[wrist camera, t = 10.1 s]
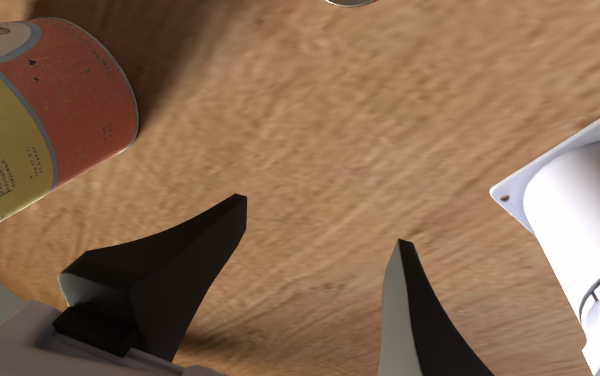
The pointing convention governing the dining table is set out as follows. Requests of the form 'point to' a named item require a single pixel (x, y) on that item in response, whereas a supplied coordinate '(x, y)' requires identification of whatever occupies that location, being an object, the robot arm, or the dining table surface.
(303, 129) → the dining table surface
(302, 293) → the dining table surface
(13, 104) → the canned food
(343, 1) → the tin can
